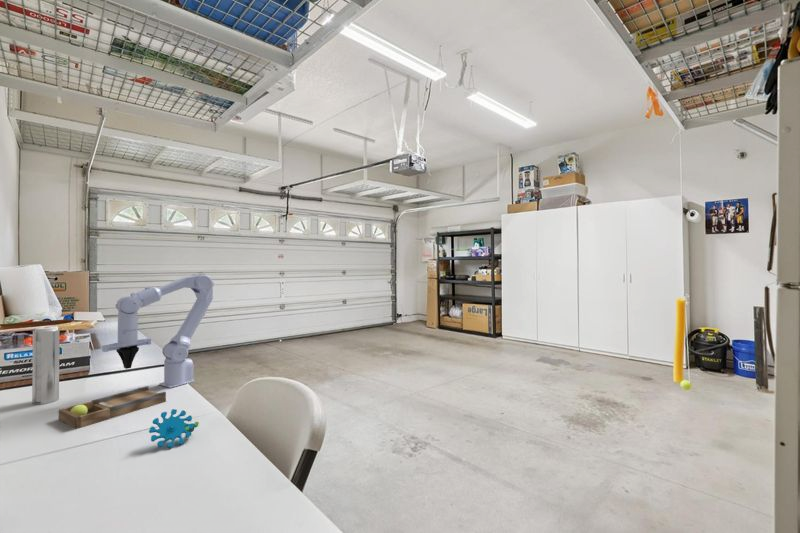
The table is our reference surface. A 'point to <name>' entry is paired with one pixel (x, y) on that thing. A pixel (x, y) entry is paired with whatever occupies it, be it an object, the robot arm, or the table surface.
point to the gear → (172, 428)
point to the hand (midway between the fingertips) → (127, 367)
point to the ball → (79, 410)
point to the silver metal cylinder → (45, 365)
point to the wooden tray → (112, 406)
